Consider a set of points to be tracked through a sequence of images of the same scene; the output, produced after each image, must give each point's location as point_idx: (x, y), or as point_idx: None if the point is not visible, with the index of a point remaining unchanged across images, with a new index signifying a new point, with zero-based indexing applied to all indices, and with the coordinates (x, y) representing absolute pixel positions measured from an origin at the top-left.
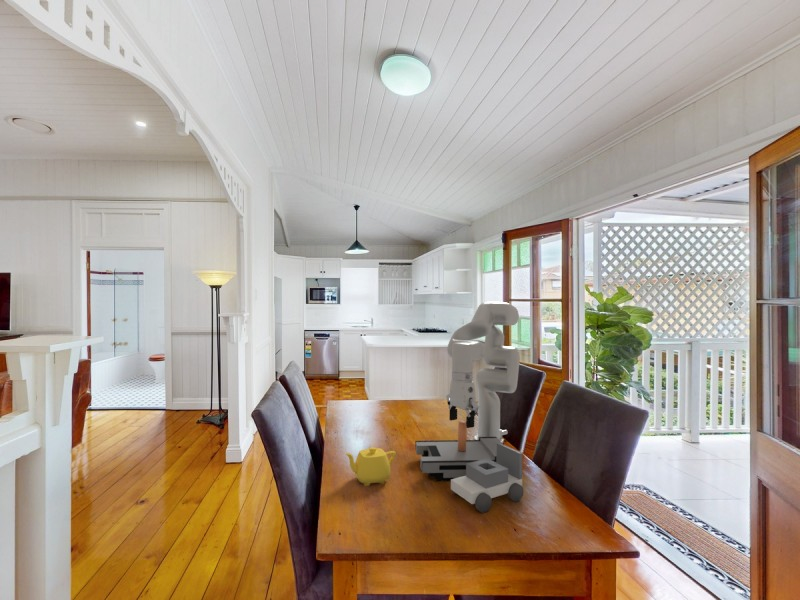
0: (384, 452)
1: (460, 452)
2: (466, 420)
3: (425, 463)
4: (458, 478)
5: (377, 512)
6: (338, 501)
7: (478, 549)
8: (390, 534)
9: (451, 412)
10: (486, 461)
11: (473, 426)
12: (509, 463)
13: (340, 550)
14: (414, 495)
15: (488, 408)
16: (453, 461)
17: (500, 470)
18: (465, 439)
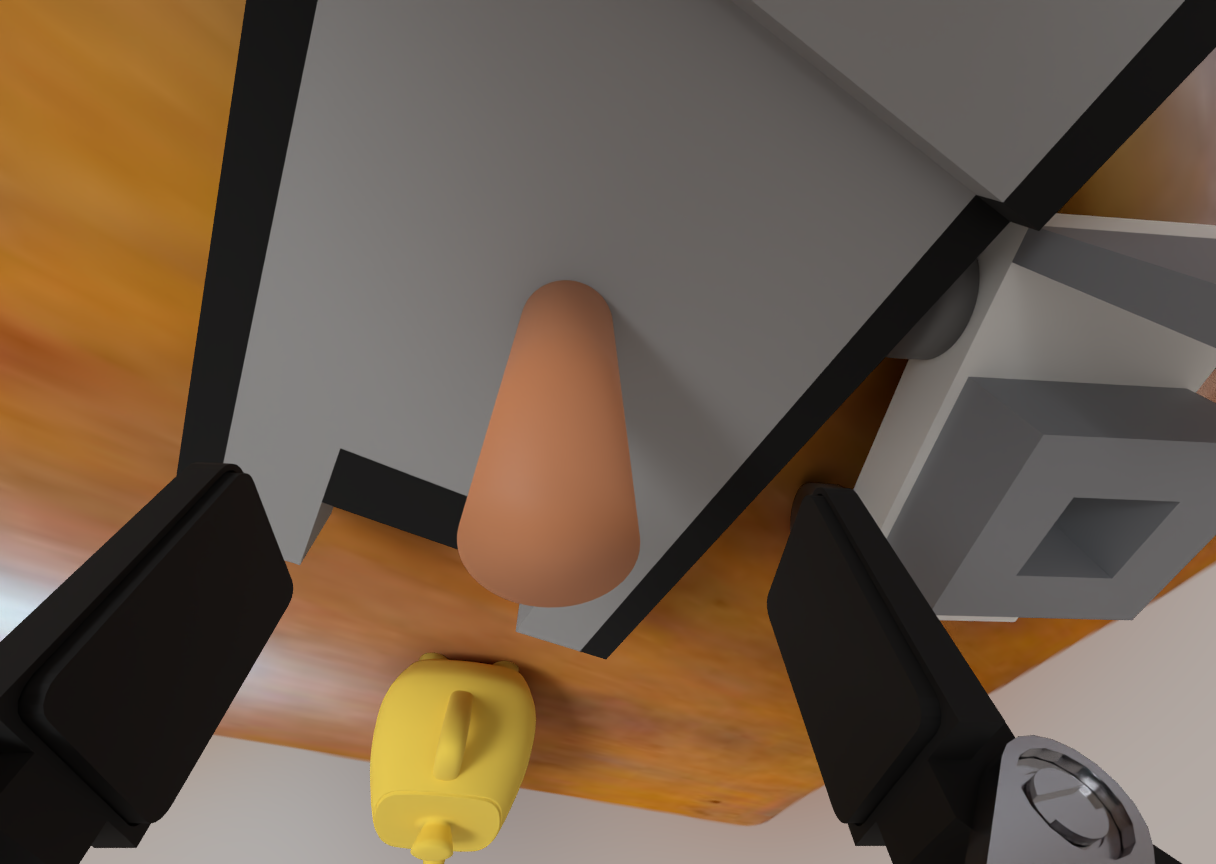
0: (458, 798)
1: None
2: (821, 738)
3: (616, 646)
4: None
5: (693, 735)
6: (565, 776)
7: (1071, 640)
8: (810, 746)
9: (187, 751)
10: (1058, 488)
11: (843, 502)
12: None
13: (772, 811)
14: (680, 631)
15: None
16: (709, 522)
17: None
18: (618, 374)
